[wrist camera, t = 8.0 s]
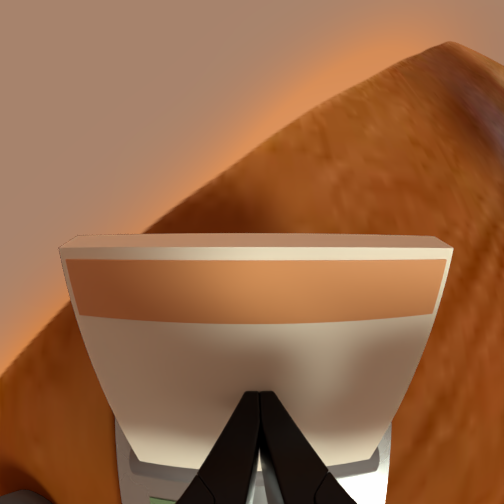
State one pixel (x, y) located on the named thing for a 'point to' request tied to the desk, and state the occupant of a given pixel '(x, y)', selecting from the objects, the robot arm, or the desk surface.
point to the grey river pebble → (23, 498)
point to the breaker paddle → (254, 335)
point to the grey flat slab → (168, 492)
